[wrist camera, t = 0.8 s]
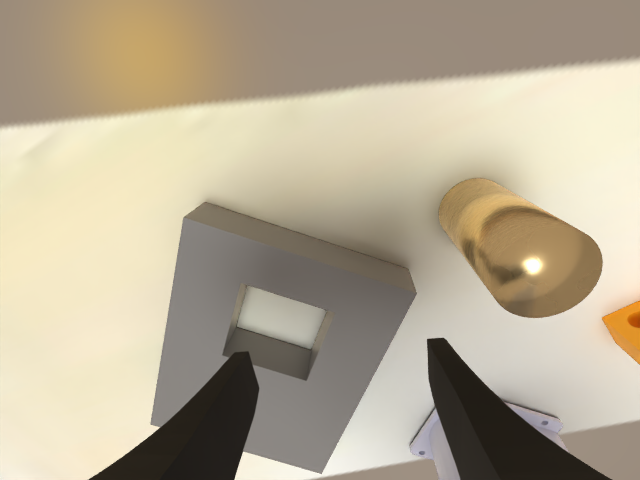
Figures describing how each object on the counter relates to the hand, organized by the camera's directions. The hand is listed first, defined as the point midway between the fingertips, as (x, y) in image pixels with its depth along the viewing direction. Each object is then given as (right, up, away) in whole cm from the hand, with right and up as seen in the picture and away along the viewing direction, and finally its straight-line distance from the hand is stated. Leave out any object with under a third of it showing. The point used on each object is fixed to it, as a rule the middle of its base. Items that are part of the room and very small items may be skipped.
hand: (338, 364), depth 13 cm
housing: (-4, -3, +12) cm, 13 cm away
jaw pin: (+9, +7, +7) cm, 13 cm away
